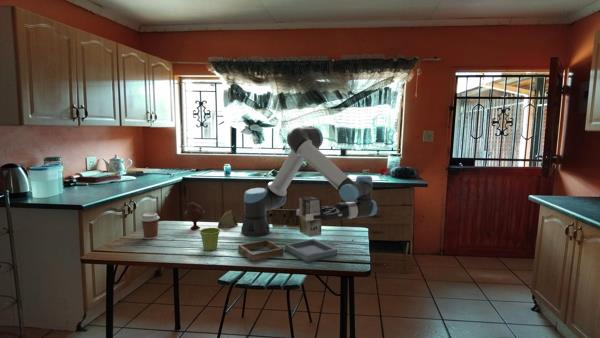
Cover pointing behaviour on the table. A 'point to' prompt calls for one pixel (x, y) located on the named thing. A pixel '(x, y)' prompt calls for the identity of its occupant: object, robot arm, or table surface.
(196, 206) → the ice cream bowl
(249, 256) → the square wooden frame
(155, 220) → the coffee cup
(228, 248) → the table surface
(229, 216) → the rock
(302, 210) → the coffee box
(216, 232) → the plant pot
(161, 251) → the table surface
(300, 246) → the tray
